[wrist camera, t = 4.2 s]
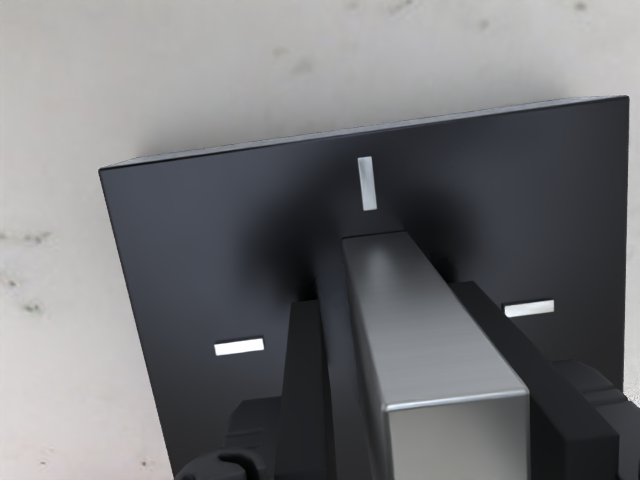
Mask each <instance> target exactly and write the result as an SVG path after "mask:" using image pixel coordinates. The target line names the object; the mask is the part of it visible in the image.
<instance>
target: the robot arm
mask: <svg viewBox="0 0 640 480" xmlns="http://www.w3.org/2000/svg"><path fill="white" fill-rule="evenodd" d="M447 285H448V286H449V287H450V288H451V290H452V291H453V292H454V294H455V295H456V296H457V297H458V299H459V300H460V301H461V303H462V304H463V305H464V306H465V308H466V309H467V310H468V312H469V313H470V314H471V315H472V317H473V318H474V319H475V321H476V322H477V323H478V324H479V326H480V327H481V328H482V330H483V331H484V332H485V333H486V335H487V336H488V337H489V339H490V340H491V341H492V342H493V344H494V345H495V346H496V348H497V349H498V350H499V351H500V353H501V354H502V355H503V357H504V358H505V359H506V360H507V362H508V363H509V364H510V366H511V367H512V368H513V369H514V371H515V372H516V373H517V374H518V376H519V377H520V378H521V380H522V381H523V382H524V383H525V385H526V386H527V388H528V390H529V401H530V455H531V480H640V408H638V407H637V406H636V405H635V404H634V403H633V402H632V401H628V399H627V397H626V396H625V395H624V394H623V393H622V392H621V391H620V390H619V389H618V388H614V385H613V384H612V383H611V382H610V381H609V380H608V379H607V378H605V377H604V376H603V375H602V374H601V373H600V372H599V371H598V370H596V369H594V368H592V367H590V366H587V365H585V364H583V363H581V362H579V361H577V360H575V359H571V360H562V361H554V362H550V361H549V360H548V359H547V358H546V357H545V356H544V354H543V353H542V352H541V351H540V350H539V349H538V348H537V347H536V346H535V345H534V344H533V343H532V342H531V341H530V340H529V339H528V338H527V337H526V336H525V335H524V333H523V332H522V331H521V330H520V329H519V328H518V327H517V326H516V325H515V324H514V323H513V322H512V321H511V320H510V319H509V318H508V317H507V316H506V315H505V313H504V312H503V311H502V310H501V309H500V308H499V307H498V306H497V305H496V304H495V303H494V302H493V301H492V300H491V299H490V298H489V297H488V296H487V295H486V293H485V292H484V291H483V290H482V289H481V288H480V287H479V286H478V285H477V284H476V283H475V282H474V281H466V282H458V283H450V284H447ZM174 480H337V467H336V453H335V439H334V426H333V412H332V398H331V387H330V379H329V372H328V364H327V356H326V349H325V341H324V334H323V326H322V318H321V311H320V303H319V300H310V301H302V302H294V303H291V308H290V318H289V328H288V338H287V348H286V358H285V368H284V378H283V388H282V396H276V397H268V398H260V399H251V400H243V401H242V402H241V403H240V404H239V406H238V407H237V408H236V409H235V410H234V411H233V413H232V414H231V415H230V416H229V420H228V424H227V427H226V431H225V437H224V439H223V442H222V446H221V448H219V449H216V450H213V451H211V452H208V453H205V454H202V455H200V456H199V457H197V458H196V459H194V460H192V461H191V462H189V463H188V464H186V465H185V466H184V468H183V469H182V470H181V471H180V472H179V473H178V474H177V475H176V476H175V478H174Z"/></svg>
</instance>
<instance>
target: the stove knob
mask: <svg viewBox="0 0 640 480" xmlns="http://www.w3.org/2000/svg"><path fill="white" fill-rule="evenodd" d="M342 249H343V257H344V266H345V275H346V283H347V292H348V301H349V309H350V318H351V327H352V335H353V344H354V353H355V361H356V370H357V379H358V387H359V396H360V404H361V413H362V419H363V425H364V431H365V437H366V443H367V449H368V455H369V461H370V467H371V473H372V479H373V480H531V455H530V401H529V390H528V388H527V386H526V385H525V383H524V382H523V381H522V380H521V378H520V377H519V376H518V374H517V373H516V372H515V371H514V369H513V368H512V367H511V366H510V364H509V363H508V362H507V360H506V359H505V358H504V357H503V355H502V354H501V353H500V351H499V350H498V349H497V348H496V346H495V345H494V344H493V342H492V341H491V340H490V339H489V337H488V336H487V335H486V333H485V332H484V331H483V330H482V328H481V327H480V326H479V324H478V323H477V322H476V321H475V319H474V318H473V317H472V315H471V314H470V313H469V312H468V310H467V309H466V308H465V306H464V305H463V304H462V303H461V301H460V300H459V299H458V297H457V296H456V295H455V294H454V292H453V291H452V290H451V288H450V287H449V286H448V285H447V283H446V282H445V281H444V279H443V278H442V277H441V276H440V274H439V273H438V272H437V271H436V269H435V268H434V267H433V265H432V264H431V263H430V262H429V260H428V259H427V258H426V256H425V255H424V254H423V253H422V251H421V250H420V249H419V247H418V246H417V245H416V244H415V242H414V241H413V240H412V238H411V237H410V236H409V235H408V233H407V232H404V231H403V232H395V233H387V234H379V235H370V236H362V237H354V238H346V239H343V240H342Z"/></svg>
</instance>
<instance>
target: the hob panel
mask: <svg viewBox="0 0 640 480" xmlns="http://www.w3.org/2000/svg"><path fill="white" fill-rule="evenodd" d="M628 145H629V96H626V95H619V96H596V97H573V98H564V99H557V100H550V101H543V102H536V103H528V104H521V105H514V106H507V107H499V108H492V109H485V110H478V111H471V112H463V113H456V114H449V115H442V116H434V117H427V118H420V119H413V120H406V121H398V122H391V123H384V124H377V125H370V126H362V127H355V128H348V129H341V130H333V131H326V132H319V133H312V134H305V135H297V136H290V137H283V138H276V139H268V140H261V141H254V142H247V143H240V144H232V145H225V146H218V147H211V148H203V149H196V150H189V151H182V152H175V153H167V154H160V155H153V156H146V157H138V158H134V159H130V160H127V161H123V162H120V163H116V164H113V165H109V166H105V167H102V168H100V169H99V170H98V173H99V177H100V181H101V185H102V189H103V193H104V197H105V201H106V205H107V209H108V213H109V217H110V221H111V226H112V230H113V234H114V238H115V242H116V246H117V250H118V254H119V258H120V262H121V266H122V270H123V274H124V278H125V282H126V286H127V290H128V294H129V298H130V302H131V307H132V311H133V315H134V319H135V323H136V327H137V331H138V335H139V339H140V343H141V347H142V351H143V355H144V359H145V363H146V367H147V371H148V375H149V379H150V383H151V388H152V392H153V396H154V400H155V404H156V408H157V412H158V416H159V420H160V424H161V428H162V432H163V436H164V440H165V444H166V448H167V452H168V456H169V460H170V464H171V469H172V473H173V477H174V478H175V476H176V475H177V474H178V473H179V472H180V471H181V470H182V469H183V468H184V466H185V465H186V464H188V463H189V462H191V461H192V460H194V459H196V458H197V457H199V456H200V455H202V454H205V453H208V452H211V451H213V450H216V449H219V448H221V446H222V442H223V439H224V437H225V431H226V427H227V424H228V420H229V416H230V415H231V414H232V413H233V411H234V410H235V409H236V408H237V407H238V406H239V404H240V403H241V402H242V401H243V400H251V399H260V398H268V397H276V396H282V388H283V378H284V368H285V358H286V348H287V338H288V328H289V318H290V308H291V303H294V302H302V301H310V300H319V303H320V311H321V318H322V326H323V334H324V341H325V349H326V356H327V364H328V372H329V379H330V387H331V398H332V412H333V426H334V439H335V453H336V467H337V480H373V479H372V473H371V467H370V461H369V455H368V449H367V443H366V437H365V431H364V425H363V419H362V413H361V404H360V396H359V387H358V379H357V370H356V361H355V353H354V344H353V335H352V327H351V318H350V309H349V301H348V292H347V283H346V275H345V266H344V257H343V249H342V240H343V239H346V238H354V237H362V236H370V235H379V234H387V233H395V232H403V231H404V232H407V233H408V235H409V236H410V237H411V238H412V240H413V241H414V242H415V244H416V245H417V246H418V247H419V249H420V250H421V251H422V253H423V254H424V255H425V256H426V258H427V259H428V260H429V262H430V263H431V264H432V265H433V267H434V268H435V269H436V271H437V272H438V273H439V274H440V276H441V277H442V278H443V279H444V281H445V282H446V283H447V284H450V283H458V282H466V281H474V282H475V283H476V284H477V285H478V286H479V287H480V288H481V289H482V290H483V291H484V292H485V293H486V295H487V296H488V297H489V298H490V299H491V300H492V301H493V302H494V303H495V304H496V305H497V306H498V307H499V308H500V309H501V310H502V311H503V312H504V313H505V315H506V316H507V317H508V318H509V319H510V320H511V321H512V322H513V323H514V324H515V325H516V326H517V327H518V328H519V329H520V330H521V331H522V332H523V333H524V335H525V336H526V337H527V338H528V339H529V340H530V341H531V342H532V343H533V344H534V345H535V346H536V347H537V348H538V349H539V350H540V351H541V352H542V353H543V354H544V356H545V357H546V358H547V359H548V360H549V361H550V362H554V361H562V360H571V359H575V360H577V361H579V362H581V363H583V364H585V365H587V366H590V367H592V368H594V369H596V370H598V371H599V372H600V373H601V374H602V375H603V376H604V377H605V378H607V379H608V380H609V381H610V382H611V383H612V384H613V385H614V388H618V389H619V390H620V391H621V392H622V393H623V377H624V330H625V284H626V238H627V191H628Z"/></svg>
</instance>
